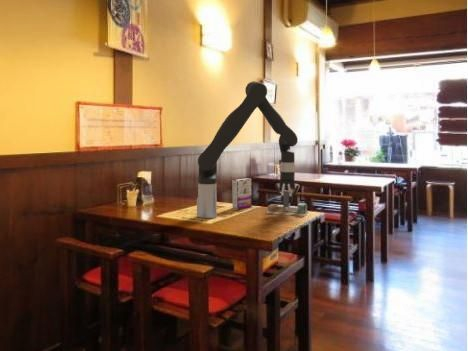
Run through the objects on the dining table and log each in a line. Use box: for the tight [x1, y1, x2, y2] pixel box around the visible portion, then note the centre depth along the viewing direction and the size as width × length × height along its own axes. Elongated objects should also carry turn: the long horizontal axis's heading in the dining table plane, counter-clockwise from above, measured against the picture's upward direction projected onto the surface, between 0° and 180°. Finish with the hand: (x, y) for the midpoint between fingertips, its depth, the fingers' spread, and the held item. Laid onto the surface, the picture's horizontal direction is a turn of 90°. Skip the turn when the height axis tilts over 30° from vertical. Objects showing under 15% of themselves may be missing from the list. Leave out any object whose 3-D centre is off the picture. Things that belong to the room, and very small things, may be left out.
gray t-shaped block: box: [277, 190, 298, 212], centre depth 214 cm, size 13×3×11 cm, turn 69°
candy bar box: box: [231, 177, 253, 210], centre depth 230 cm, size 11×5×16 cm, turn 131°
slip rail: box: [266, 202, 309, 217], centre depth 215 cm, size 20×10×5 cm, turn 69°
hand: (286, 202), depth 215 cm, fingers closed on gray t-shaped block, 3 cm apart
